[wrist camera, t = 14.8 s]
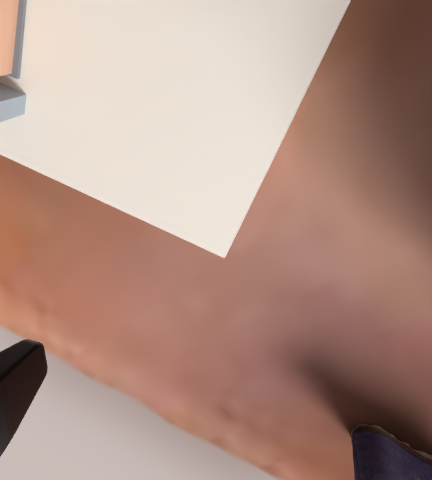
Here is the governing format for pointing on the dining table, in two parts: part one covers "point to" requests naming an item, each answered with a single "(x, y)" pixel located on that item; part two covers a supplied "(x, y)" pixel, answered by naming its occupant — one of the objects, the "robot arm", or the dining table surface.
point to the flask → (386, 456)
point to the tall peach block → (7, 34)
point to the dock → (162, 101)
